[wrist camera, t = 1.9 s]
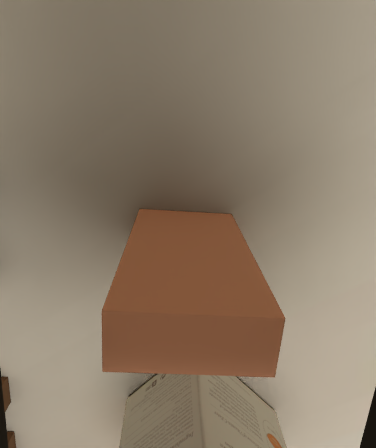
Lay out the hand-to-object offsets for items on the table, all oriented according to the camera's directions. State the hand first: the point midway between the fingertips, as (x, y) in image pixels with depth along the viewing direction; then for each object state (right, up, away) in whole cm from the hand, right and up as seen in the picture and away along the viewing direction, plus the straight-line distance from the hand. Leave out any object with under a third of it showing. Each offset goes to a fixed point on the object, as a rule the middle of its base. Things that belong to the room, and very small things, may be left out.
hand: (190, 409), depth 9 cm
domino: (0, +4, +11) cm, 11 cm away
